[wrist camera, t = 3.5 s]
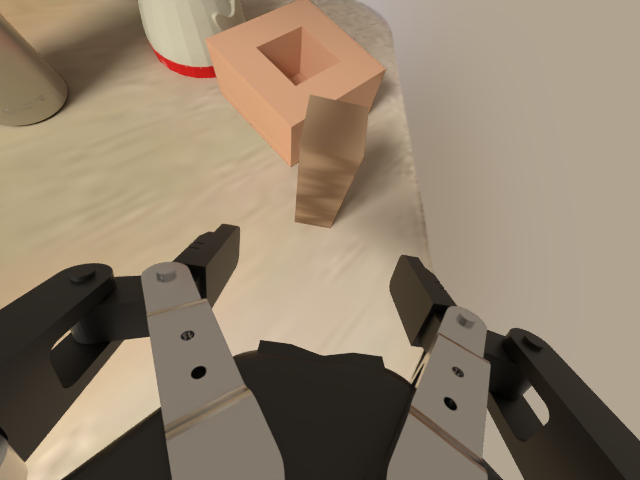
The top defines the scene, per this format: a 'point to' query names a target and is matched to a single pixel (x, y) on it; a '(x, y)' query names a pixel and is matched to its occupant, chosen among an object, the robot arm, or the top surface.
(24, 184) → the top surface
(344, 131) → the walnut bar
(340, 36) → the terracotta well block
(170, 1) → the kitchen timer
